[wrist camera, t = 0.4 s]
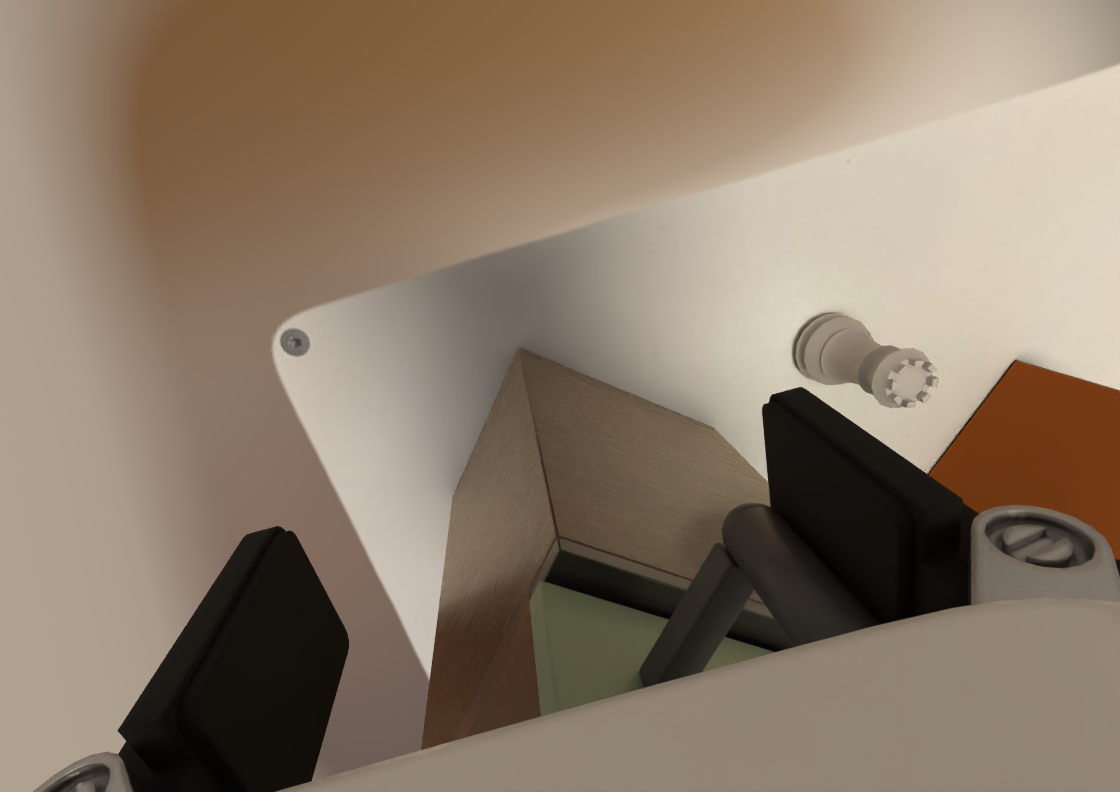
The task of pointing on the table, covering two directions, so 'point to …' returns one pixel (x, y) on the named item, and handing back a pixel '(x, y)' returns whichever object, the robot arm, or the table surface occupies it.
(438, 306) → the table surface
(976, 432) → the alarm clock
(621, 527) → the cabinet
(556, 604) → the door
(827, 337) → the rook chess piece
